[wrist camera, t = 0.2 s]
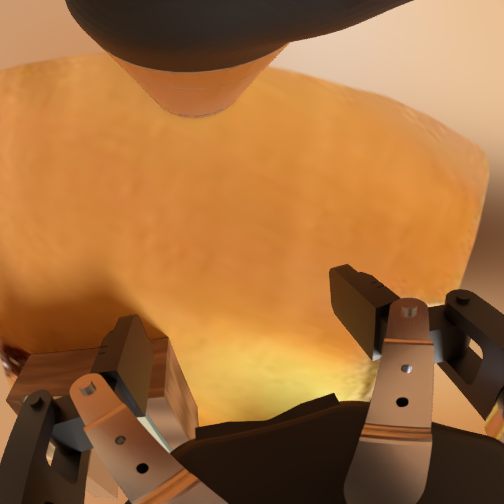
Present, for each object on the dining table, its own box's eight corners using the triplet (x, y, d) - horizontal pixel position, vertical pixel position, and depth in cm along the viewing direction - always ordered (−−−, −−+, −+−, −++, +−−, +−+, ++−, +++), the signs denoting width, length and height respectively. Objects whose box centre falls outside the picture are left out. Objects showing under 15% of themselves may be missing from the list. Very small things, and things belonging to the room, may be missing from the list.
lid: (28, 391, 23) (4, 447, 15) (136, 386, 25) (126, 461, 17) (79, 451, 28) (70, 501, 20) (176, 449, 29) (179, 509, 21)
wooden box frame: (30, 354, 29) (5, 400, 21) (168, 337, 32) (164, 396, 23) (96, 443, 37) (89, 485, 29) (211, 435, 40) (217, 483, 31)
